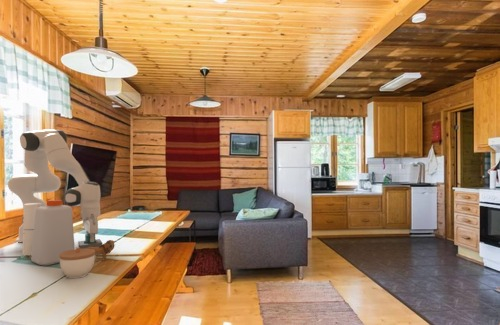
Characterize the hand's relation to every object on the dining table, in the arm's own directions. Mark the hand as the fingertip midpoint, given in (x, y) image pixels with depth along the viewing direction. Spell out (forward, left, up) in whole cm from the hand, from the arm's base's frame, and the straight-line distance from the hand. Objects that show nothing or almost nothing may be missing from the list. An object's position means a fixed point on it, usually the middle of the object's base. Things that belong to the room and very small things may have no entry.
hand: (90, 240), depth 156 cm
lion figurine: (+18, +2, -6) cm, 19 cm away
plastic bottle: (+7, -16, -6) cm, 18 cm away
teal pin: (0, 0, -5) cm, 5 cm away
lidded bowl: (+35, -8, -6) cm, 36 cm away
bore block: (0, 0, -6) cm, 6 cm away
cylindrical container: (-12, -25, -6) cm, 28 cm away
